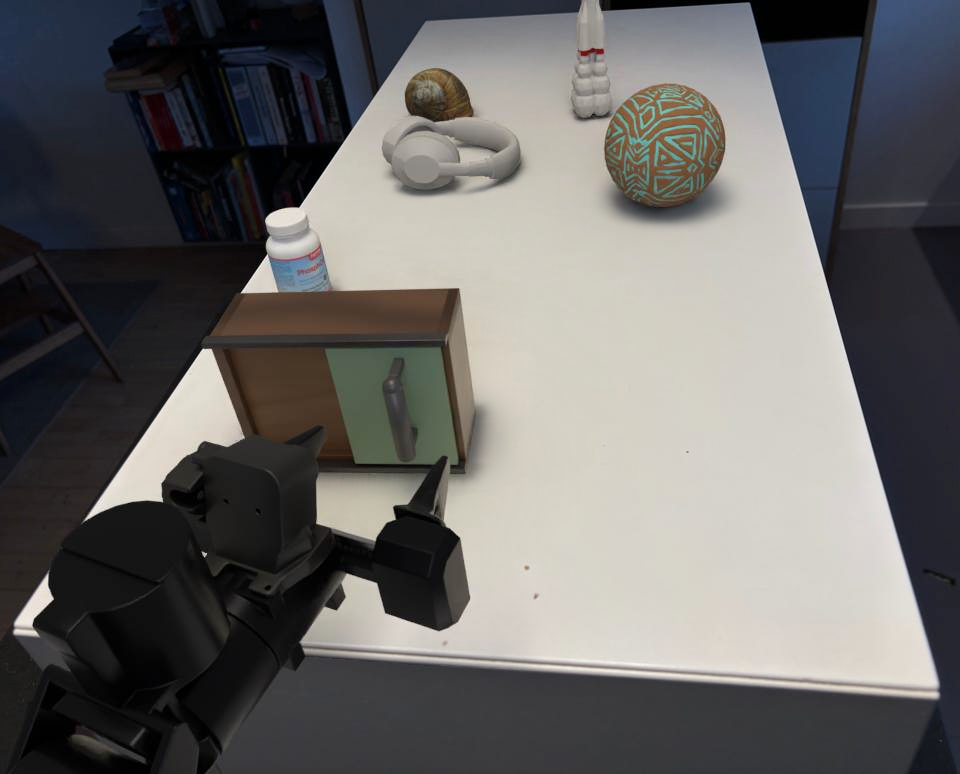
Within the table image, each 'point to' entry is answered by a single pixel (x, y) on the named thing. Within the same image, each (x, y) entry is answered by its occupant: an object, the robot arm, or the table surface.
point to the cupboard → (305, 369)
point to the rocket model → (590, 63)
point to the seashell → (437, 96)
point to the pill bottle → (295, 252)
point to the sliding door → (394, 403)
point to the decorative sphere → (664, 145)
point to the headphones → (447, 150)
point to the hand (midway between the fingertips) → (383, 445)
